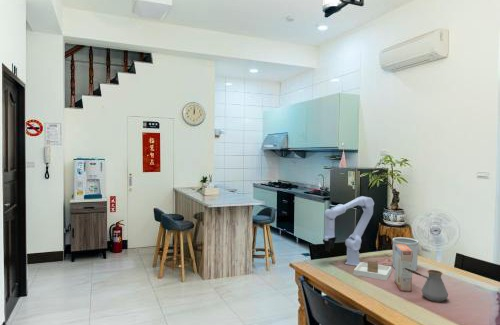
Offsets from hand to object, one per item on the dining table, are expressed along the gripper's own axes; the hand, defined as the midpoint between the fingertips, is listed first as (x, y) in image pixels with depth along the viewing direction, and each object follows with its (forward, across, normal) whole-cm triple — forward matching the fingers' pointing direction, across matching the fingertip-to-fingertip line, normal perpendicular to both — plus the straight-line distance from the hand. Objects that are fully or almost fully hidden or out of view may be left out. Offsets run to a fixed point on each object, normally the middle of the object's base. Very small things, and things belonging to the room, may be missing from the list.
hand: (329, 249), depth 222 cm
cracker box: (+10, +17, +45) cm, 49 cm away
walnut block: (+9, +3, +27) cm, 28 cm away
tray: (+9, +3, +27) cm, 29 cm away
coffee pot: (+10, +29, +56) cm, 64 cm away
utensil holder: (+10, -18, +42) cm, 47 cm away
